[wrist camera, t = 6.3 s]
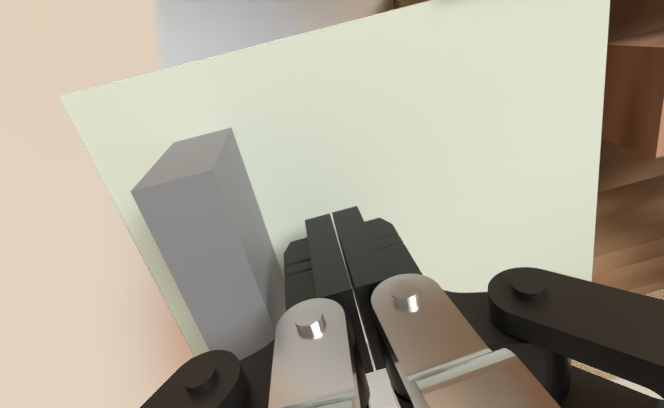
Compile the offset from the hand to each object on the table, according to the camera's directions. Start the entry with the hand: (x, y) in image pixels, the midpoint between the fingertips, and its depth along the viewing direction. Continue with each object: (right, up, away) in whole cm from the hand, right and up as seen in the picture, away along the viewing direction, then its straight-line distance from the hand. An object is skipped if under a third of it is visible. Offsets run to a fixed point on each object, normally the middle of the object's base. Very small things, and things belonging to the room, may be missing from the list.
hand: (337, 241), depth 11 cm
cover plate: (+1, +1, +2) cm, 2 cm away
